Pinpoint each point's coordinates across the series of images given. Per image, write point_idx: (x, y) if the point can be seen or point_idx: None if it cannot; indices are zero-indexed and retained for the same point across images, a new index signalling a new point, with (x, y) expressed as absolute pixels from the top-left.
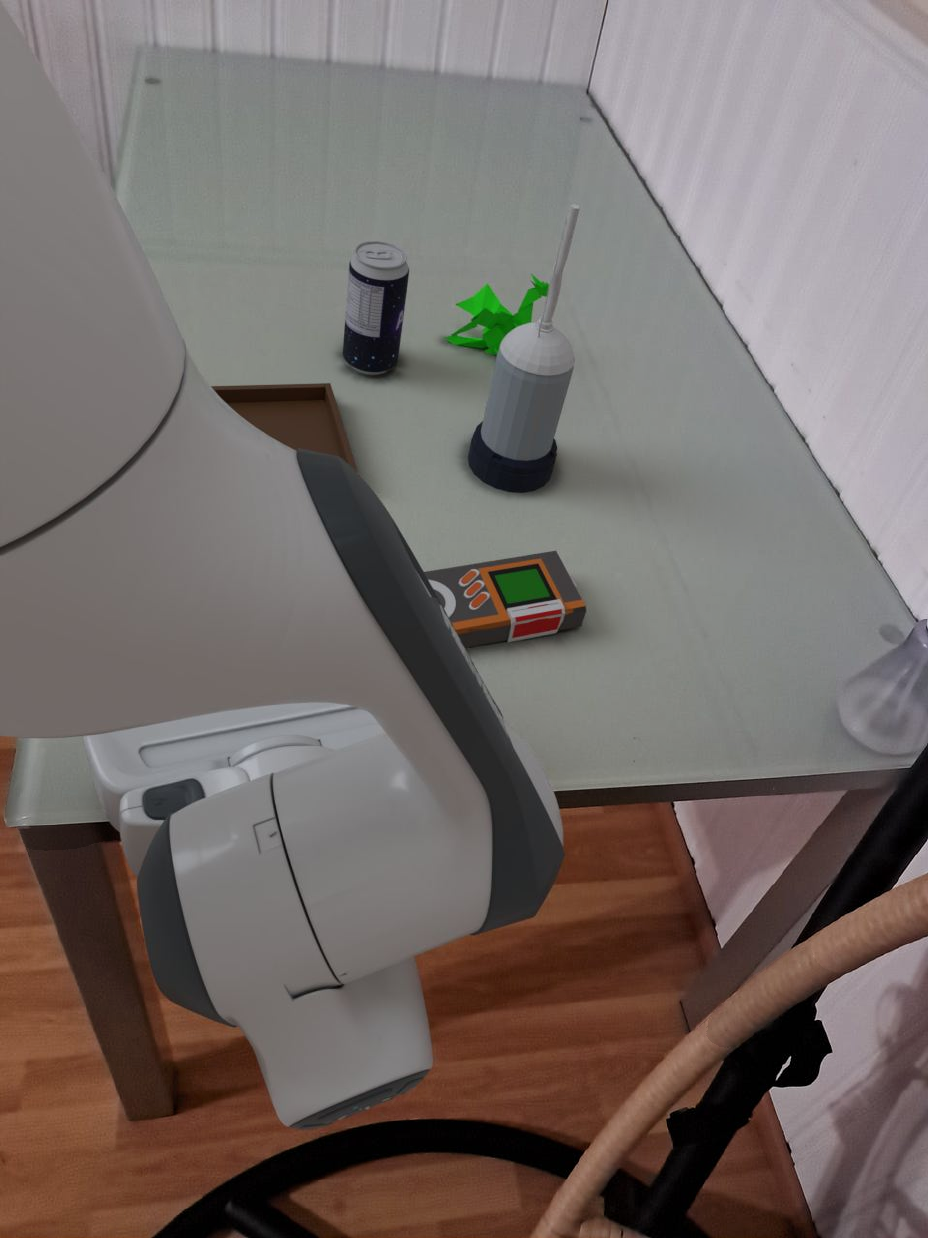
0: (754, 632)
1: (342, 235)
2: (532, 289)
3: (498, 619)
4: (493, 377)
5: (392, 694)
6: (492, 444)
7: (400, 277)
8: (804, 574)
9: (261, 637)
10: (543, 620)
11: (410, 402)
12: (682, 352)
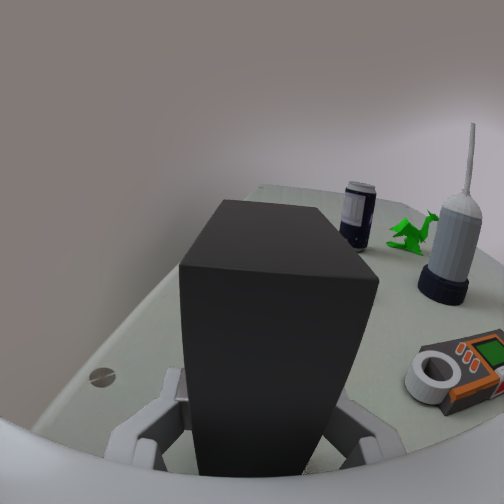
0: None
1: (330, 215)
2: (428, 216)
3: (492, 378)
4: (439, 227)
5: None
6: (439, 271)
7: (373, 193)
8: None
9: None
10: None
11: (377, 262)
12: (480, 259)
